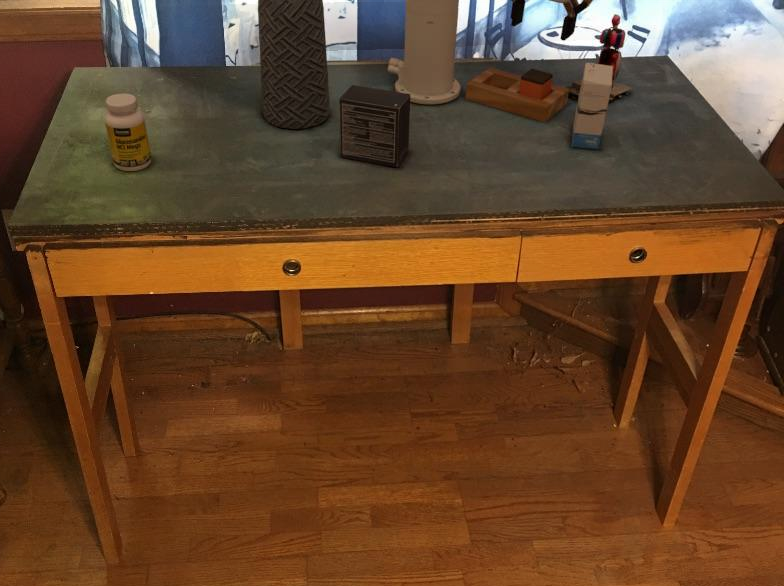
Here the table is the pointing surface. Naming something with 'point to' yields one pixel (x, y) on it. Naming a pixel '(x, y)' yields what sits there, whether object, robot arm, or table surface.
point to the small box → (374, 125)
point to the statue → (608, 58)
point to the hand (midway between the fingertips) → (540, 31)
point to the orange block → (536, 84)
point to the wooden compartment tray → (514, 95)
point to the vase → (293, 62)
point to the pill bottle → (127, 133)
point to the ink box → (592, 105)
